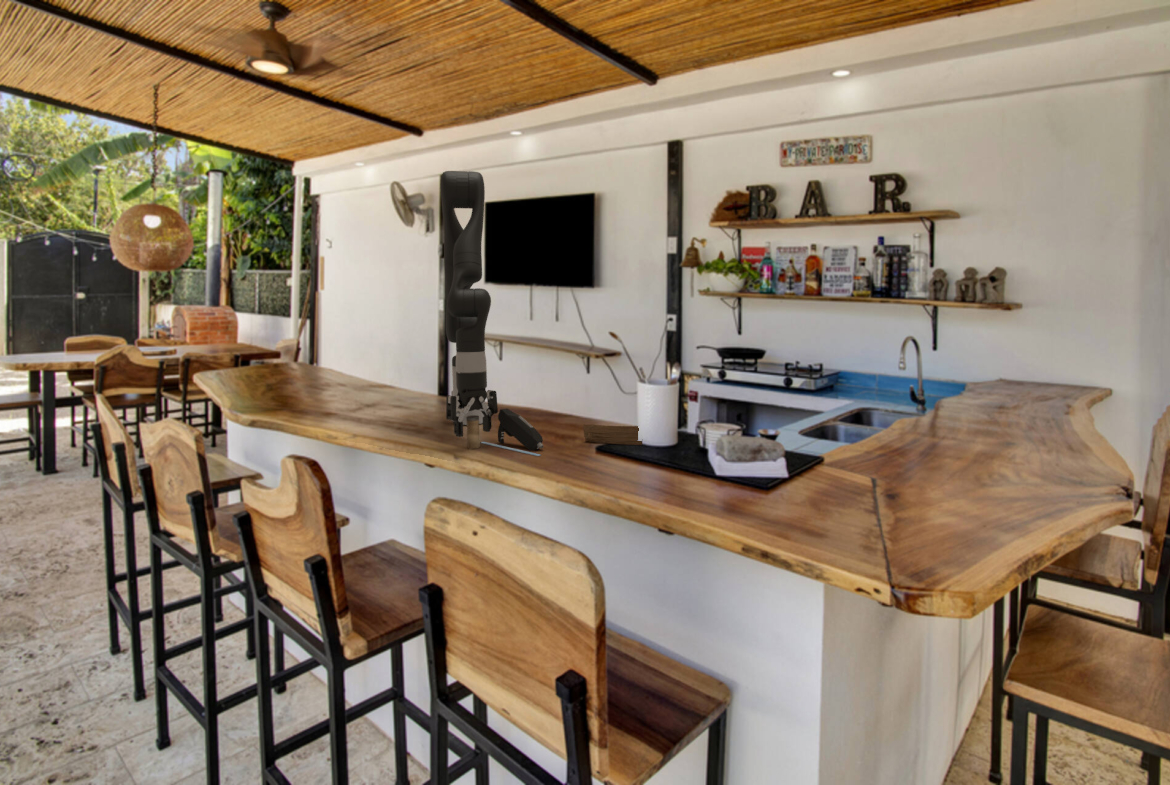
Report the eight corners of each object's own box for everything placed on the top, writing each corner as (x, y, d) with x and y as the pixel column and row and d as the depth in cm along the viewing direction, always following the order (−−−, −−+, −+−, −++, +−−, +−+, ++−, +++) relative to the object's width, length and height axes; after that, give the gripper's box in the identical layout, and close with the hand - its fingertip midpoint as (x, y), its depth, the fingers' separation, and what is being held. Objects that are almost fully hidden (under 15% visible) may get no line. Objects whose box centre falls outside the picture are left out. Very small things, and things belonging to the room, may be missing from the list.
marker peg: (464, 447, 174) (463, 416, 173) (474, 445, 176) (473, 414, 175) (472, 449, 172) (471, 417, 171) (482, 447, 174) (481, 416, 173)
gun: (528, 472, 172) (541, 439, 168) (488, 435, 180) (500, 403, 176) (536, 469, 174) (549, 437, 170) (496, 433, 182) (508, 402, 178)
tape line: (480, 442, 179) (480, 442, 179) (483, 442, 180) (483, 441, 180) (537, 456, 164) (537, 455, 164) (540, 455, 165) (540, 454, 165)
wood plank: (643, 444, 177) (643, 425, 176) (641, 446, 175) (642, 426, 174) (585, 441, 181) (585, 423, 180) (583, 443, 179) (583, 424, 178)
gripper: (484, 366, 179) (486, 428, 181) (438, 371, 169) (440, 436, 171) (503, 368, 174) (504, 431, 176) (456, 373, 163) (459, 440, 166)
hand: (473, 433), depth 173 cm, fingers open, 8 cm apart
